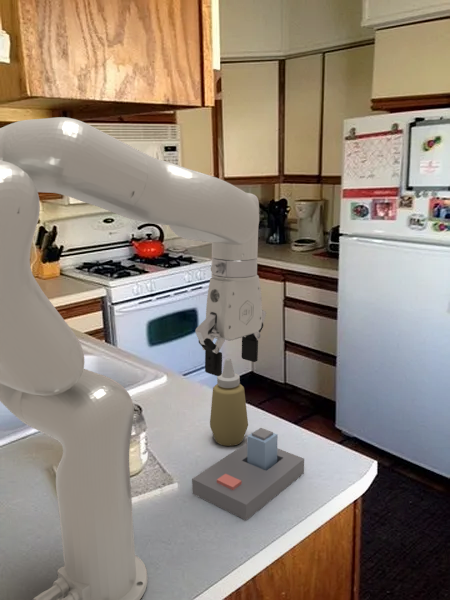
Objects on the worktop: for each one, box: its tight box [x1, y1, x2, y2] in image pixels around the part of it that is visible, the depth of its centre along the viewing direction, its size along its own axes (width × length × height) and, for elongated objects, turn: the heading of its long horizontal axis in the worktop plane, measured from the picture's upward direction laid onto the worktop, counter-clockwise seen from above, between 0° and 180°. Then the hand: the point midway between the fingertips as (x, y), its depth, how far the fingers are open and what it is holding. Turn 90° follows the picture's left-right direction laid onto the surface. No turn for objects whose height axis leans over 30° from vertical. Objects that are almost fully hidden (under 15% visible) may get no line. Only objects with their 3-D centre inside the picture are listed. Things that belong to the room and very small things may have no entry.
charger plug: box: [246, 427, 279, 471], centre depth 103 cm, size 4×4×8 cm
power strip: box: [191, 442, 305, 521], centre depth 101 cm, size 18×12×4 cm, turn 141°
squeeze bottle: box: [209, 358, 249, 447], centre depth 115 cm, size 8×8×18 cm
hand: (232, 366), depth 95 cm, fingers open, 9 cm apart
